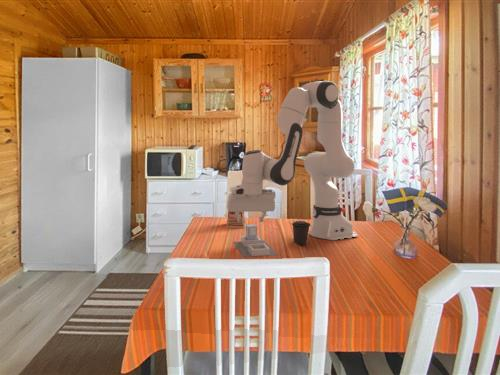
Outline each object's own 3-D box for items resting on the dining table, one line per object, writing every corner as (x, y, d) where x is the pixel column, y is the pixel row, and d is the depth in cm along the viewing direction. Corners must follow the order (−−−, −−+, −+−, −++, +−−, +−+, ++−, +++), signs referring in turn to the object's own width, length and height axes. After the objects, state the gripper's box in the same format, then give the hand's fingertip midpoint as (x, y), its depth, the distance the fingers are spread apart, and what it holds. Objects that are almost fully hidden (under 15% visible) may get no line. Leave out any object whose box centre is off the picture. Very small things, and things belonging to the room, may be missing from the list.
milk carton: (244, 228, 200) (245, 188, 197) (226, 227, 201) (226, 188, 197) (245, 223, 209) (246, 185, 206) (227, 223, 210) (228, 185, 206)
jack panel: (264, 242, 177) (264, 234, 176) (278, 257, 158) (278, 248, 157) (232, 244, 173) (233, 236, 173) (243, 259, 154) (243, 250, 154)
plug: (254, 242, 174) (254, 224, 172) (257, 245, 169) (257, 227, 168) (245, 242, 173) (245, 224, 171) (247, 245, 168) (248, 227, 167)
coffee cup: (290, 241, 180) (291, 219, 178) (308, 241, 180) (309, 220, 178) (291, 246, 172) (292, 224, 170) (310, 247, 172) (311, 224, 170)
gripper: (273, 188, 173) (271, 219, 175) (226, 188, 168) (225, 220, 170) (278, 190, 167) (276, 223, 169) (229, 190, 162) (228, 223, 164)
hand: (250, 221), depth 169 cm, fingers open, 8 cm apart
